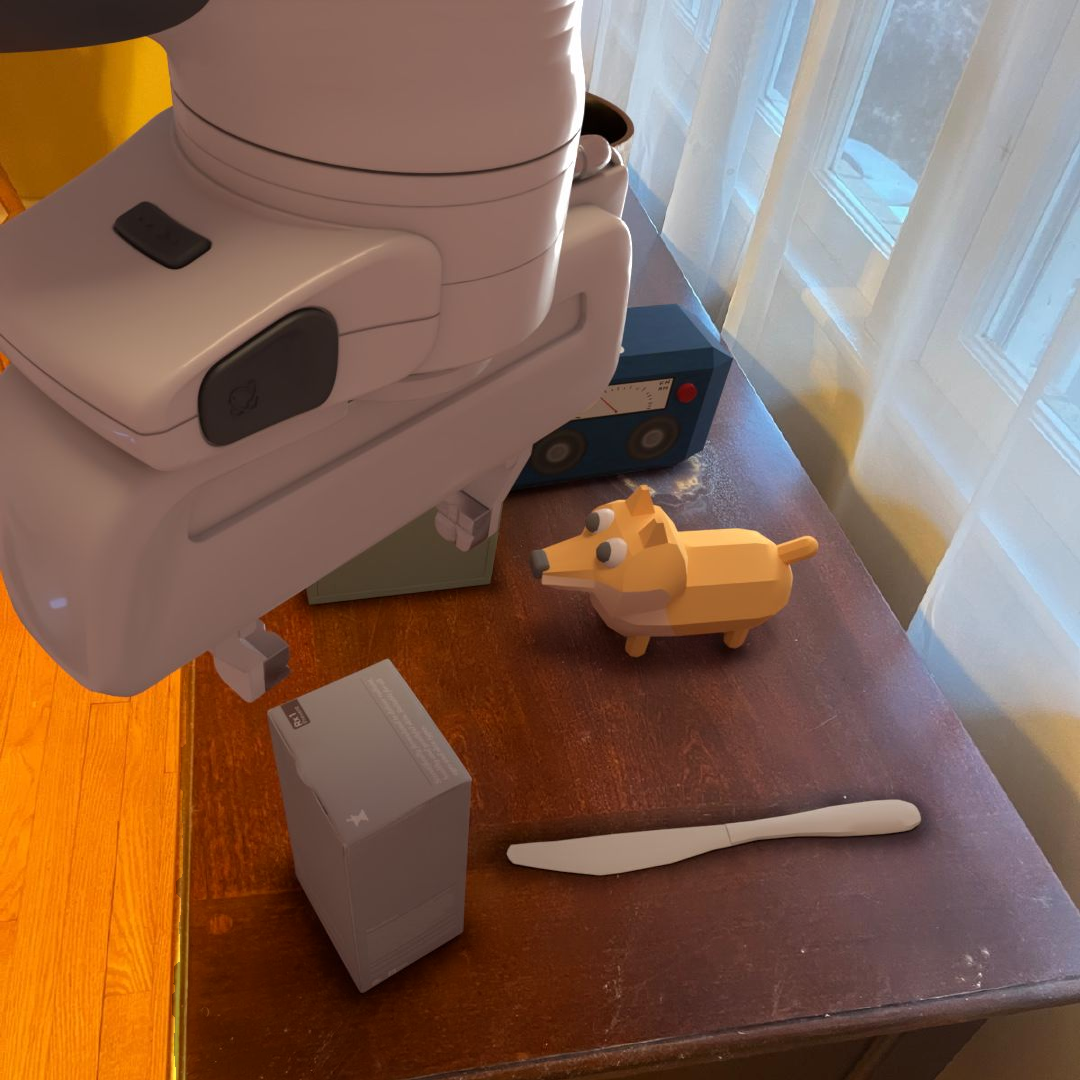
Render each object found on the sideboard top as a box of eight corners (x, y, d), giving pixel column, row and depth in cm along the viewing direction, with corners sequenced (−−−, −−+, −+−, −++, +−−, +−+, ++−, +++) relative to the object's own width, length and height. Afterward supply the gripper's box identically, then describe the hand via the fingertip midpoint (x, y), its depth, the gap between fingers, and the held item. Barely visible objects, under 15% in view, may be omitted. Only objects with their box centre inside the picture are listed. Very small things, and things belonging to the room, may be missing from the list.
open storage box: (308, 605, 69) (306, 514, 63) (288, 481, 78) (284, 390, 72) (490, 584, 73) (504, 496, 67) (451, 468, 82) (460, 381, 76)
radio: (481, 507, 79) (512, 285, 65) (448, 439, 84) (470, 221, 71) (706, 471, 86) (777, 265, 73) (662, 411, 92) (720, 209, 78)
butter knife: (933, 838, 62) (913, 795, 64) (511, 883, 56) (504, 834, 58) (928, 842, 62) (909, 799, 64) (510, 887, 57) (503, 838, 59)
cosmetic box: (464, 936, 54) (496, 779, 43) (345, 1007, 50) (346, 855, 40) (390, 815, 58) (402, 645, 48) (276, 872, 55) (261, 703, 44)
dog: (505, 602, 72) (529, 467, 63) (754, 583, 77) (809, 456, 68) (528, 688, 67) (557, 554, 58) (794, 662, 72) (859, 535, 63)
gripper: (553, 85, 31) (503, 430, 41) (-131, 285, 19) (29, 717, 28) (719, 160, 29) (624, 509, 38) (60, 449, 16) (164, 861, 26)
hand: (368, 600), depth 33 cm, fingers open, 8 cm apart
